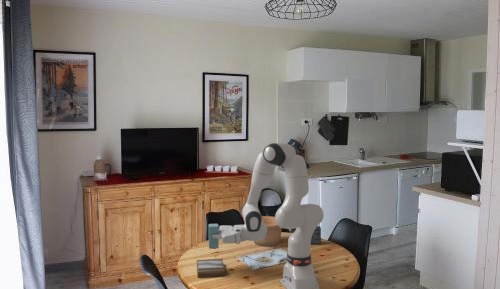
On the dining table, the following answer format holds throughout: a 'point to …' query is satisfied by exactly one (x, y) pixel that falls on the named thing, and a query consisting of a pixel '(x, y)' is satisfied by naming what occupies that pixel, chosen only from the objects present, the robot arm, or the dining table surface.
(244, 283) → the dining table surface
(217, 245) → the teal block
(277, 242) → the pottery
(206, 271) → the base plinth
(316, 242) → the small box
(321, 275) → the dining table surface
